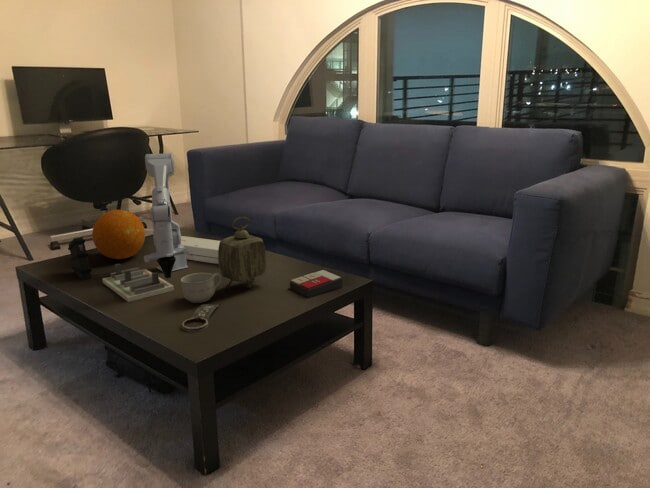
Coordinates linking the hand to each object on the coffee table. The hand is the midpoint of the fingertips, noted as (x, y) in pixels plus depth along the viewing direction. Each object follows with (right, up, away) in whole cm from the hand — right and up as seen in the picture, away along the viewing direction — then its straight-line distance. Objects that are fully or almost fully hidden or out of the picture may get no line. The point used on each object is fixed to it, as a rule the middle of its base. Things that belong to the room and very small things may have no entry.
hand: (167, 277), depth 189 cm
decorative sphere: (-29, +6, +35) cm, 45 cm away
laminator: (+6, +6, +35) cm, 36 cm away
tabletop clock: (+27, -4, +1) cm, 27 cm away
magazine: (-37, 0, +16) cm, 40 cm away
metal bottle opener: (+17, -12, -23) cm, 31 cm away
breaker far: (-20, 0, +7) cm, 21 cm away
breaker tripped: (-3, -3, -2) cm, 5 cm away
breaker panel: (-12, -3, +3) cm, 12 cm away
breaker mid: (-14, -2, +1) cm, 14 cm away
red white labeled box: (+51, -4, 0) cm, 52 cm away
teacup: (+14, -7, -8) cm, 18 cm away
